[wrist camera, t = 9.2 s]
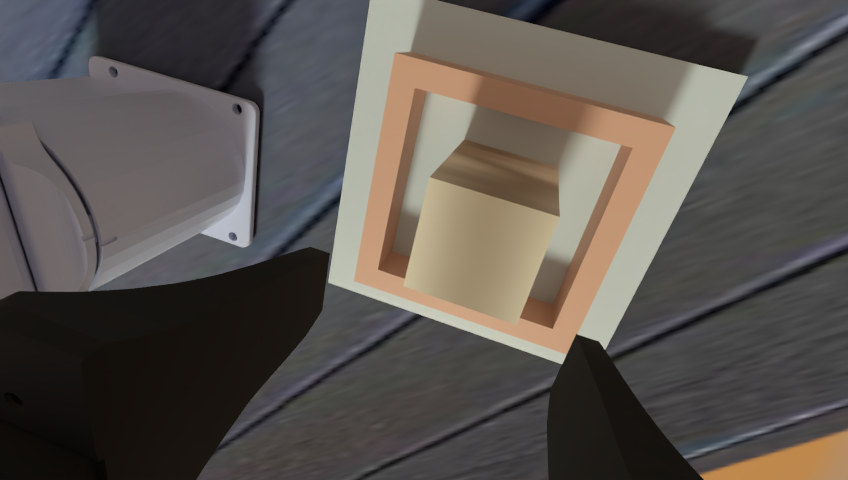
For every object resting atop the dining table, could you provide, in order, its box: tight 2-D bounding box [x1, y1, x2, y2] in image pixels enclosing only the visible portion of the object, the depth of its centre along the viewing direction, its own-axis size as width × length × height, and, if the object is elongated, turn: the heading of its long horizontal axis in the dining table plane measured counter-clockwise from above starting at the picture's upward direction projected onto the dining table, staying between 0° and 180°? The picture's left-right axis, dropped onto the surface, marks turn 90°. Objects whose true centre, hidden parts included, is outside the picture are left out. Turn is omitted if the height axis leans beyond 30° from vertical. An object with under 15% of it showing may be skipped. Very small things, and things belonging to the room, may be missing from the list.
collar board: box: [328, 0, 748, 364], centre depth 19 cm, size 14×14×3 cm
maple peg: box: [403, 139, 560, 325], centre depth 17 cm, size 4×4×6 cm
